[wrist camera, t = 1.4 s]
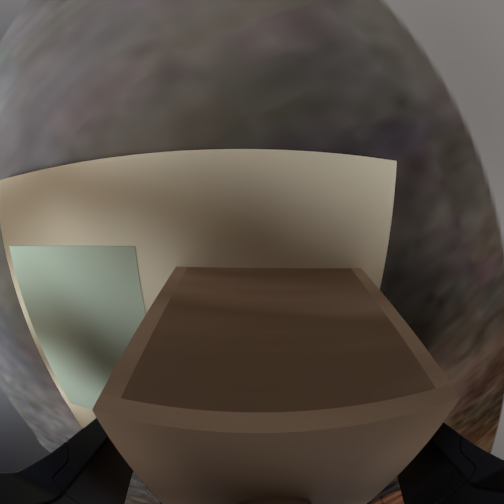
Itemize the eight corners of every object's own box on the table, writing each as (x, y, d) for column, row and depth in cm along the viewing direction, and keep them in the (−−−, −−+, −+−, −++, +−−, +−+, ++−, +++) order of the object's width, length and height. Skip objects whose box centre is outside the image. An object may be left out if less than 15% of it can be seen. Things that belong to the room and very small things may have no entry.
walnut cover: (322, 421, 12) (345, 540, 5) (200, 422, 12) (181, 544, 5) (361, 268, 9) (483, 435, 2) (176, 266, 9) (69, 455, 2)
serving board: (314, 459, 15) (316, 470, 14) (101, 439, 15) (97, 449, 14) (383, 159, 9) (397, 161, 8) (9, 178, 9) (-6, 181, 8)
